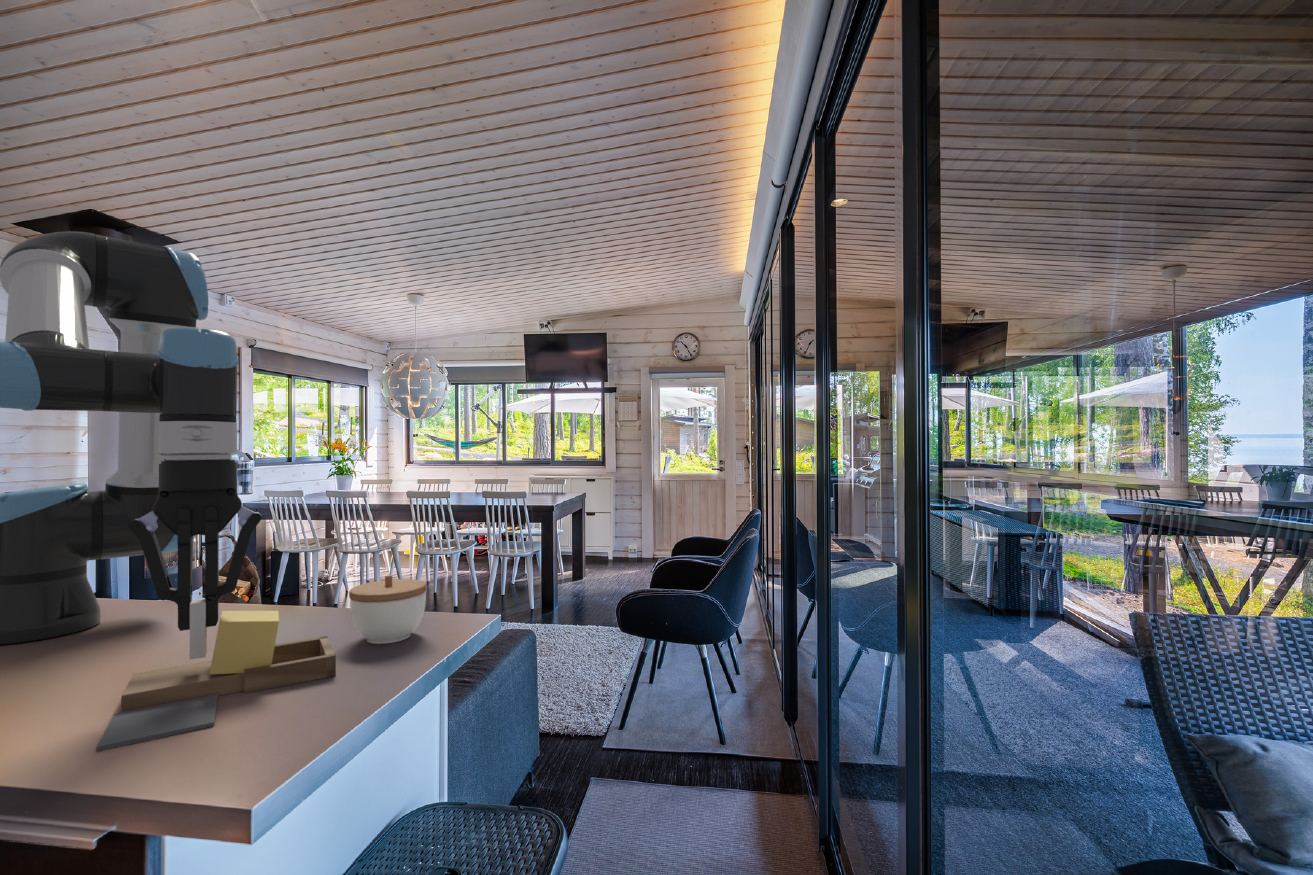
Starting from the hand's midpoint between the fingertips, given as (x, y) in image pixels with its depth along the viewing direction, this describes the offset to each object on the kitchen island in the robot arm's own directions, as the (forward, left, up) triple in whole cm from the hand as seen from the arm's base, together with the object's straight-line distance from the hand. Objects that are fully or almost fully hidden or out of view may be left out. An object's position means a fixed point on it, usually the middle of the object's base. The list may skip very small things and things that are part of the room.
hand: (198, 655), depth 72 cm
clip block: (+1, +5, +1) cm, 5 cm away
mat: (+9, -2, -4) cm, 10 cm away
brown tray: (0, +5, -4) cm, 6 cm away
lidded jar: (-8, +23, -4) cm, 24 cm away
